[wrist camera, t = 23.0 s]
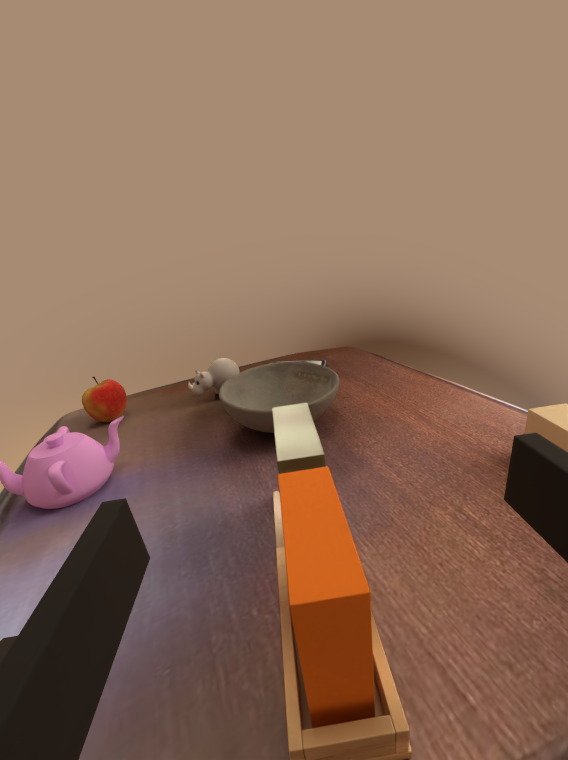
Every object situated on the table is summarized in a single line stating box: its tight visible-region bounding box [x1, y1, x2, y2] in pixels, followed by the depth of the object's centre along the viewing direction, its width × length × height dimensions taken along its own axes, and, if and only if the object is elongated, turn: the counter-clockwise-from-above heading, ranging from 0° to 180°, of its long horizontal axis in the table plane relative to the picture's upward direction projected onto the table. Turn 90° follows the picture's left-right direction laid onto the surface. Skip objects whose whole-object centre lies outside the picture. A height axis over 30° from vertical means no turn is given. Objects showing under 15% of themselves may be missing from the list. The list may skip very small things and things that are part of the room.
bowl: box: [219, 361, 339, 433], centre depth 57 cm, size 21×21×8 cm
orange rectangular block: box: [278, 466, 375, 728], centre depth 22 cm, size 10×4×12 cm, turn 4°
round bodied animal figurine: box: [189, 358, 240, 396], centre depth 71 cm, size 7×12×8 cm, turn 125°
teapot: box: [0, 416, 124, 509], centre depth 47 cm, size 12×14×9 cm
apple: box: [82, 377, 126, 422], centre depth 67 cm, size 8×8×10 cm
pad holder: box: [272, 403, 412, 760], centre depth 27 cm, size 24×7×13 cm, turn 4°
